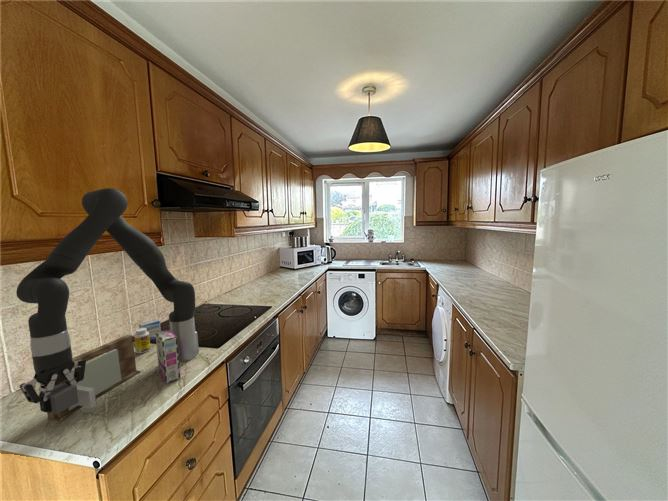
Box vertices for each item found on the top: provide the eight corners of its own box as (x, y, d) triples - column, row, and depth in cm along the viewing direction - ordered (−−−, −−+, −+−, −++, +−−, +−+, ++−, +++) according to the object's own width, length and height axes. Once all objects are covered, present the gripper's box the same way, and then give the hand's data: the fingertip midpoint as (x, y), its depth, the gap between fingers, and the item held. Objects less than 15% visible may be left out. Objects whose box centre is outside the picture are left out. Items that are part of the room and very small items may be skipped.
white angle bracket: (118, 379, 99) (114, 348, 97) (136, 382, 97) (132, 351, 95) (66, 410, 84) (60, 374, 82) (85, 414, 81) (80, 377, 80)
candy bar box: (181, 378, 101) (177, 336, 99) (166, 384, 97) (161, 341, 95) (173, 367, 109) (169, 328, 107) (158, 372, 105) (154, 332, 103)
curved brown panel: (131, 370, 106) (127, 334, 105) (140, 372, 105) (136, 335, 103) (48, 418, 82) (40, 372, 80) (58, 421, 80) (51, 374, 79)
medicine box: (143, 342, 131) (141, 325, 130) (140, 340, 133) (138, 323, 132) (161, 337, 137) (160, 320, 136) (158, 334, 140) (156, 318, 139)
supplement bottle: (142, 354, 119) (139, 332, 118) (132, 353, 121) (130, 331, 119) (153, 348, 124) (151, 327, 123) (144, 347, 126) (142, 326, 125)
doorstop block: (63, 399, 80) (61, 383, 79) (78, 402, 79) (76, 386, 78) (42, 410, 75) (39, 393, 75) (57, 414, 74) (54, 397, 73)
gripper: (72, 336, 83) (79, 387, 85) (6, 359, 69) (16, 420, 71) (90, 338, 81) (97, 391, 83) (26, 363, 67) (36, 426, 69)
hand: (60, 404), depth 77 cm, fingers closed on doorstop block, 5 cm apart
